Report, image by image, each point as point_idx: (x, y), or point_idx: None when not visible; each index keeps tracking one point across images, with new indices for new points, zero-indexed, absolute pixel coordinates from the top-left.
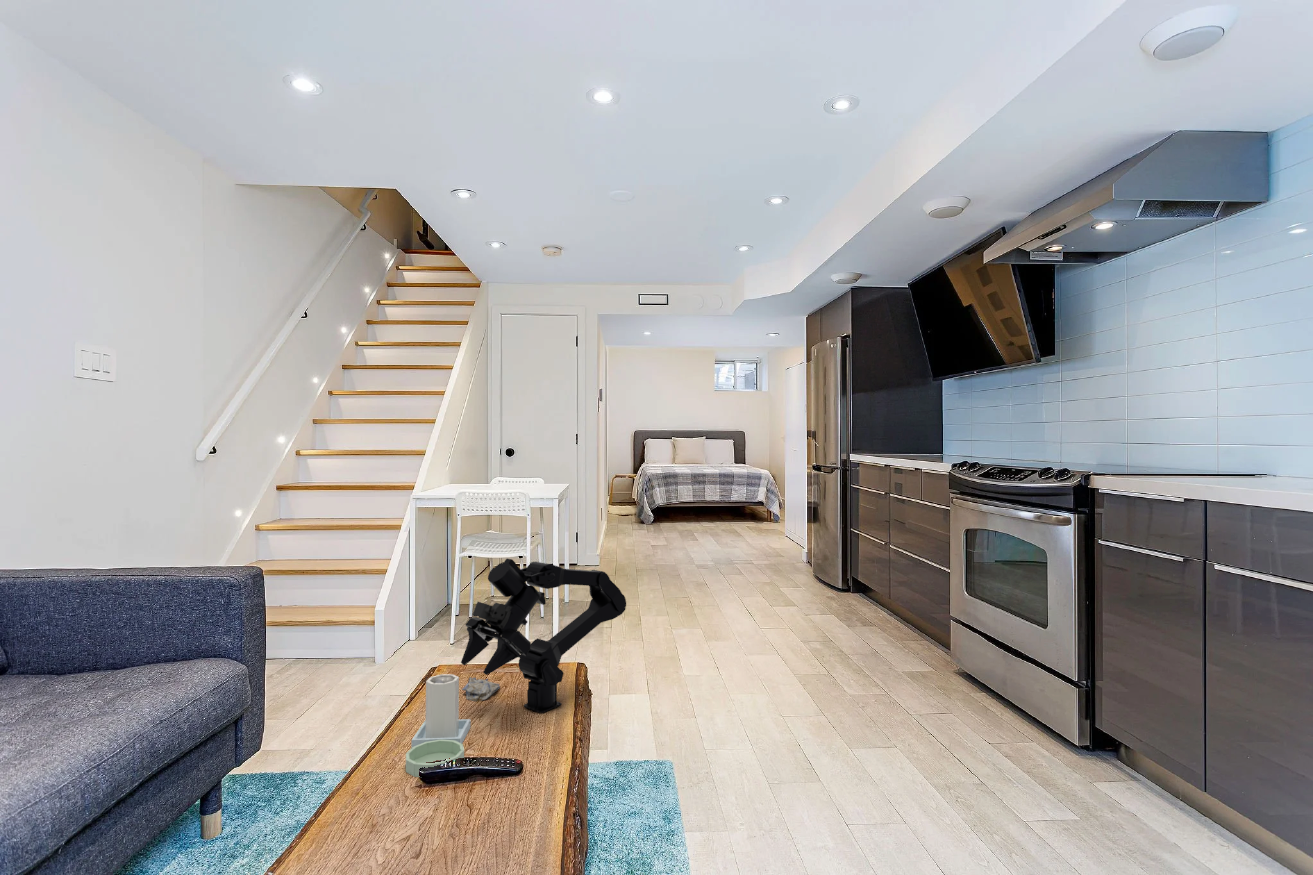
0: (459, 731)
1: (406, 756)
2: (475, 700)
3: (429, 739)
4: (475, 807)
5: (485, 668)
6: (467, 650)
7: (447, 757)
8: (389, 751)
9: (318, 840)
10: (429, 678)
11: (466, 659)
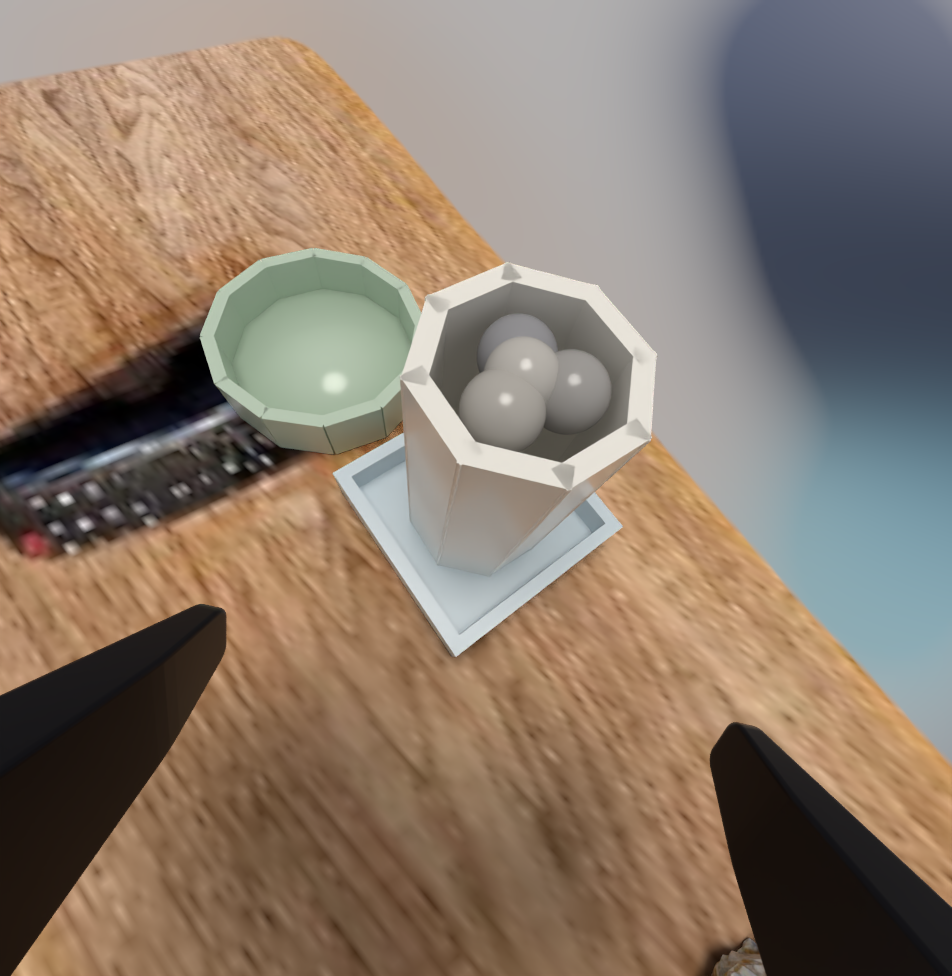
0: (459, 592)
1: (384, 271)
2: (728, 969)
3: None
4: (22, 260)
5: (177, 626)
6: (898, 910)
7: (318, 404)
8: None
9: (314, 79)
10: (635, 336)
11: (754, 806)
